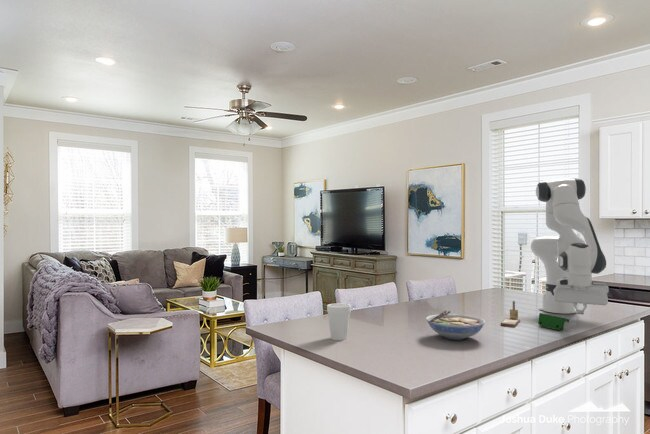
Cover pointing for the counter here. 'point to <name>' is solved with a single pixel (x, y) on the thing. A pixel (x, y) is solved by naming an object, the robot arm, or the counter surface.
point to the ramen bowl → (455, 325)
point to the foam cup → (339, 320)
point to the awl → (513, 312)
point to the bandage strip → (510, 322)
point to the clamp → (552, 321)
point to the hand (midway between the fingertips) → (580, 314)
